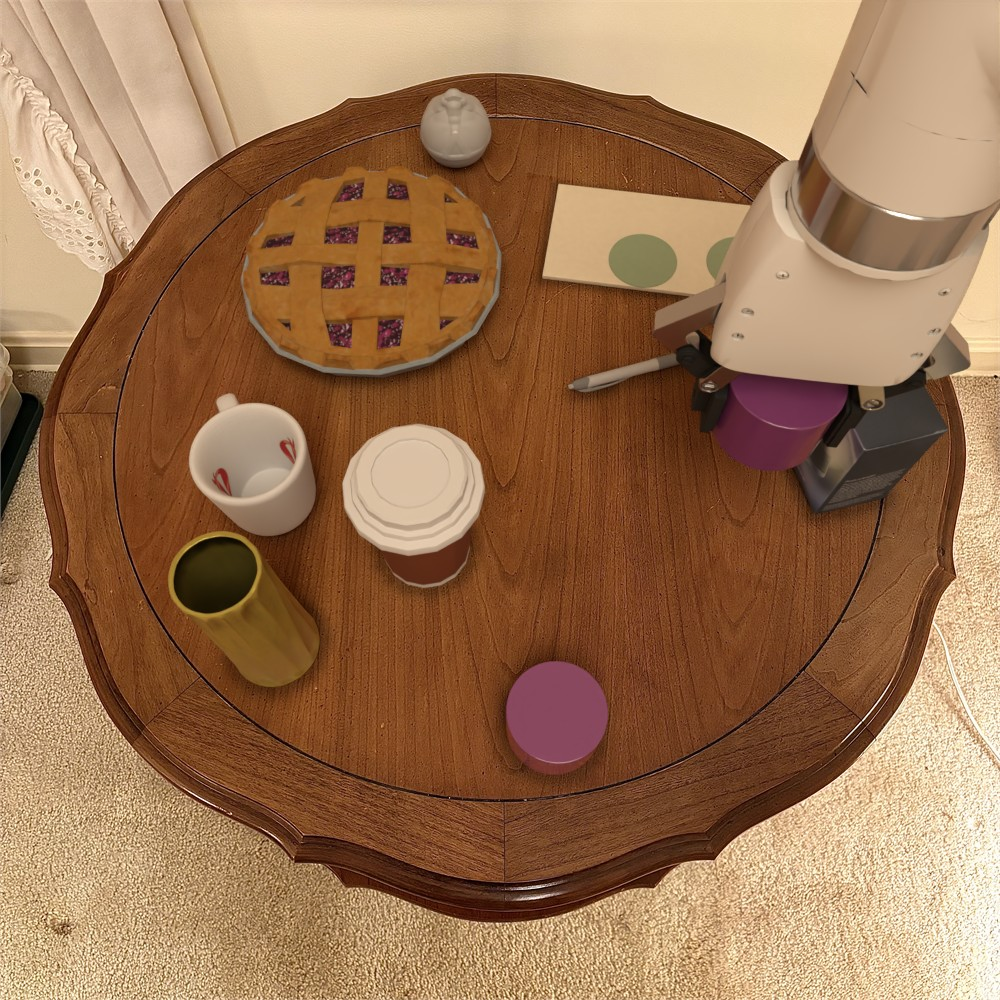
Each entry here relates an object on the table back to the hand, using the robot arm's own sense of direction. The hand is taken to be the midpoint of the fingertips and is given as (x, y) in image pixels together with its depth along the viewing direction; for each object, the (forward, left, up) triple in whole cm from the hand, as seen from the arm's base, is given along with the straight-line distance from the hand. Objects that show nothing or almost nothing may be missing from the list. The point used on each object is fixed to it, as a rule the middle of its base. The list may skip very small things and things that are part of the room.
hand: (767, 417), depth 49 cm
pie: (+30, -18, -16) cm, 38 cm away
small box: (-8, -8, -16) cm, 20 cm away
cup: (+34, +2, -16) cm, 37 cm away
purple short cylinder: (+10, +17, -16) cm, 25 cm away
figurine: (+26, -35, -16) cm, 46 cm away
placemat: (+6, -27, -16) cm, 32 cm away
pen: (+6, -13, -16) cm, 21 cm away
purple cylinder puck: (0, 0, -1) cm, 1 cm away
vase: (+30, +14, -16) cm, 36 cm away
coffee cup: (+21, +5, -16) cm, 26 cm away
